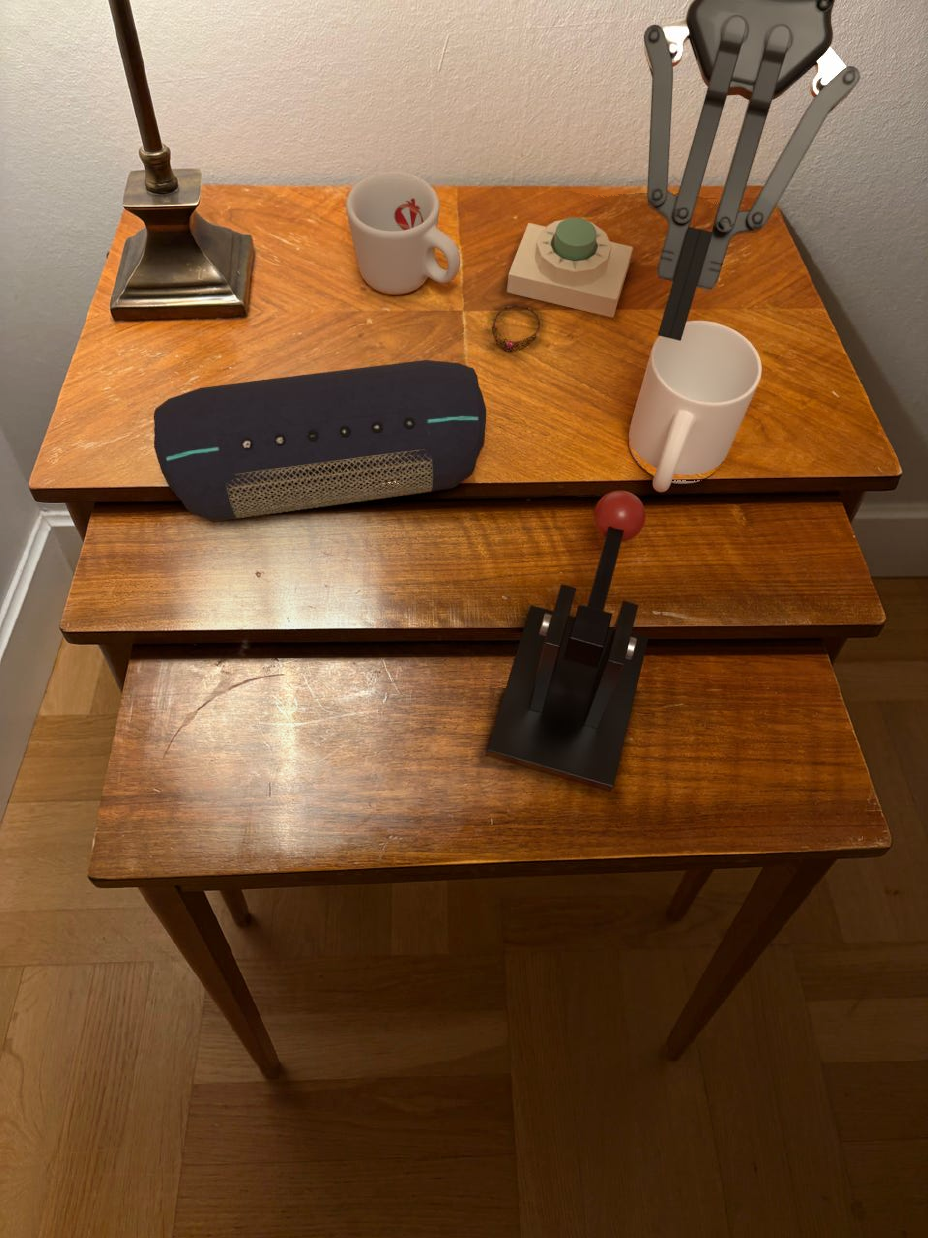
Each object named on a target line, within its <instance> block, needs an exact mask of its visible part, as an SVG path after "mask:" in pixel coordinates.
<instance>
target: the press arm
mask: <svg viewBox="0 0 928 1238" xmlns="http://www.w3.org/2000/svg"><path fill="white" fill-rule="evenodd" d="M645 523H646V510H645V507H644V504H643V502H642V501H641V500H640V498H639V497H638V496H636V494H633V493H632V492H630V491H626V490H615V491H610V492H608V493H606V494H605V495H603V496H602V497H601V498H600V499H599V500H598V501H597V503H596V505H595V507H594V510H593V524H594V526H595V529H596V530H597V532H598V533H599V534H600V536H602V537H603V538H604V542H603V545H602V549H601V552H600V556H599V560H598V564H597V566H596V567H597V568H596V571H595V575H594V578H593V582H592V586H591V589H590V593H589V597H588V601H587V605H582V604H578V605H577V609H576V611H575V616H574V617H575V619H574V623H573V626H572V630H571V634H570V637H569V641H568V644H567V648H566V652H565V655H564V659H565V660H568V661H572V662H575V663H579V664H582V665H586V666H589V667H593V668H597V667H598V664H599V661H600V658H601V655H602V652H603V649H604V646H605V642H606V637H607V633H608V629H609V627H610V624H611V621H612V617H613V613H611V612H608V611H605V608H606V603H607V600H608V595H609V591H610V589H611V584H612V580H613V576H614V572H615V569H616V566H617V565H616V564H617V560H618V558H619V557H618V556H619V553H620V550H621V549H620V548H621V545H622V543H624V542H628V541H632V540H633V539H634V538H635V537H636V536H638V535H639V534H640V532H641V531H642V529H644V526H645Z"/></svg>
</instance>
